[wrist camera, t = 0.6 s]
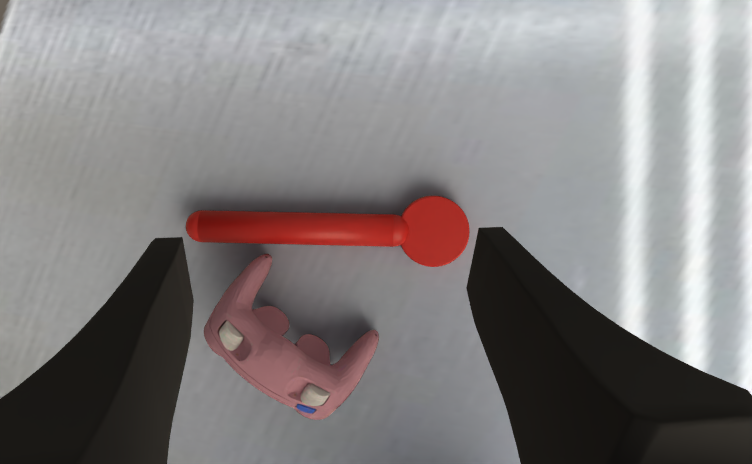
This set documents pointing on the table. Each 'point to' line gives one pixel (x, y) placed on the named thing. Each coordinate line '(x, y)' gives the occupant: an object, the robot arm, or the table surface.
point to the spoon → (346, 229)
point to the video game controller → (282, 350)
